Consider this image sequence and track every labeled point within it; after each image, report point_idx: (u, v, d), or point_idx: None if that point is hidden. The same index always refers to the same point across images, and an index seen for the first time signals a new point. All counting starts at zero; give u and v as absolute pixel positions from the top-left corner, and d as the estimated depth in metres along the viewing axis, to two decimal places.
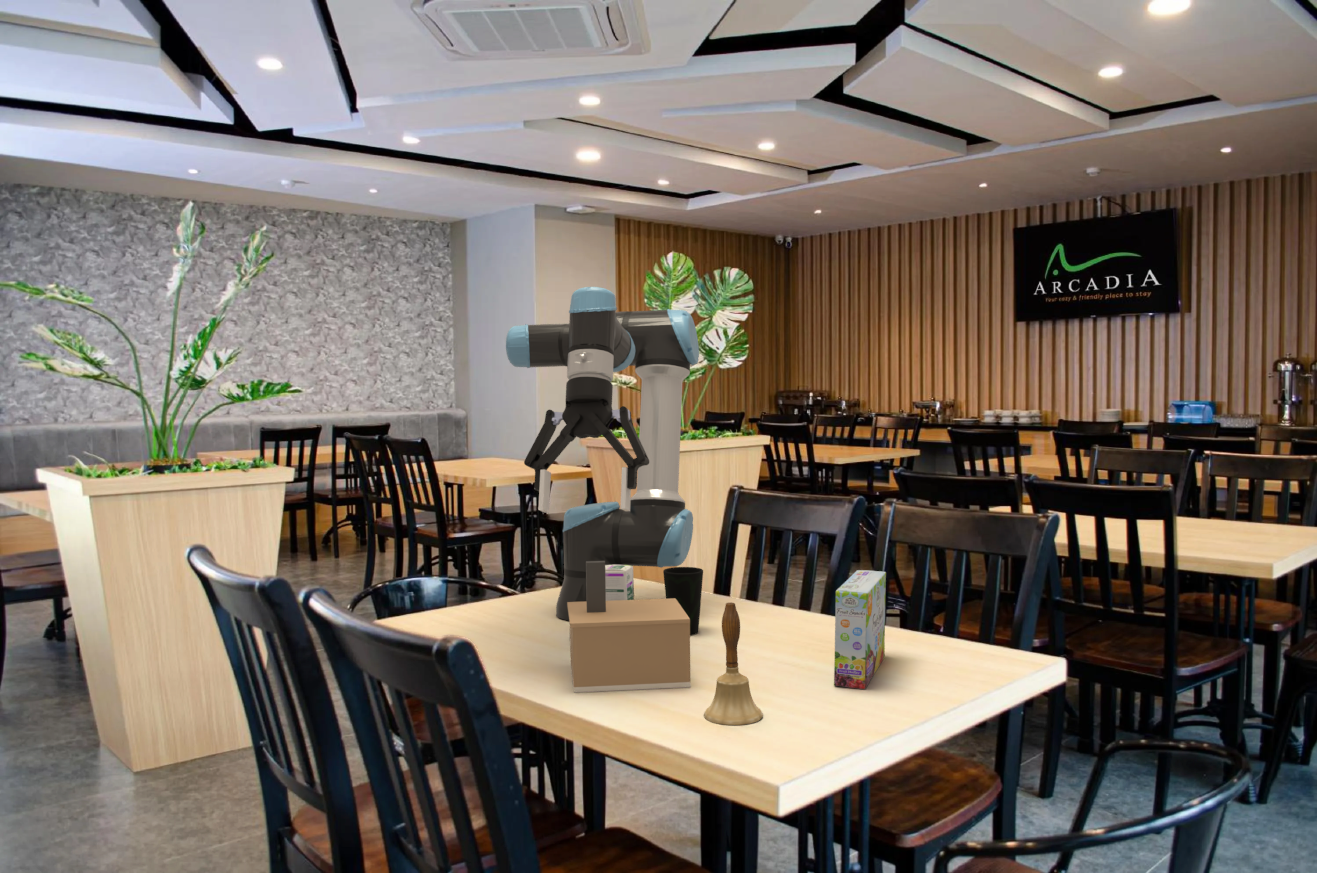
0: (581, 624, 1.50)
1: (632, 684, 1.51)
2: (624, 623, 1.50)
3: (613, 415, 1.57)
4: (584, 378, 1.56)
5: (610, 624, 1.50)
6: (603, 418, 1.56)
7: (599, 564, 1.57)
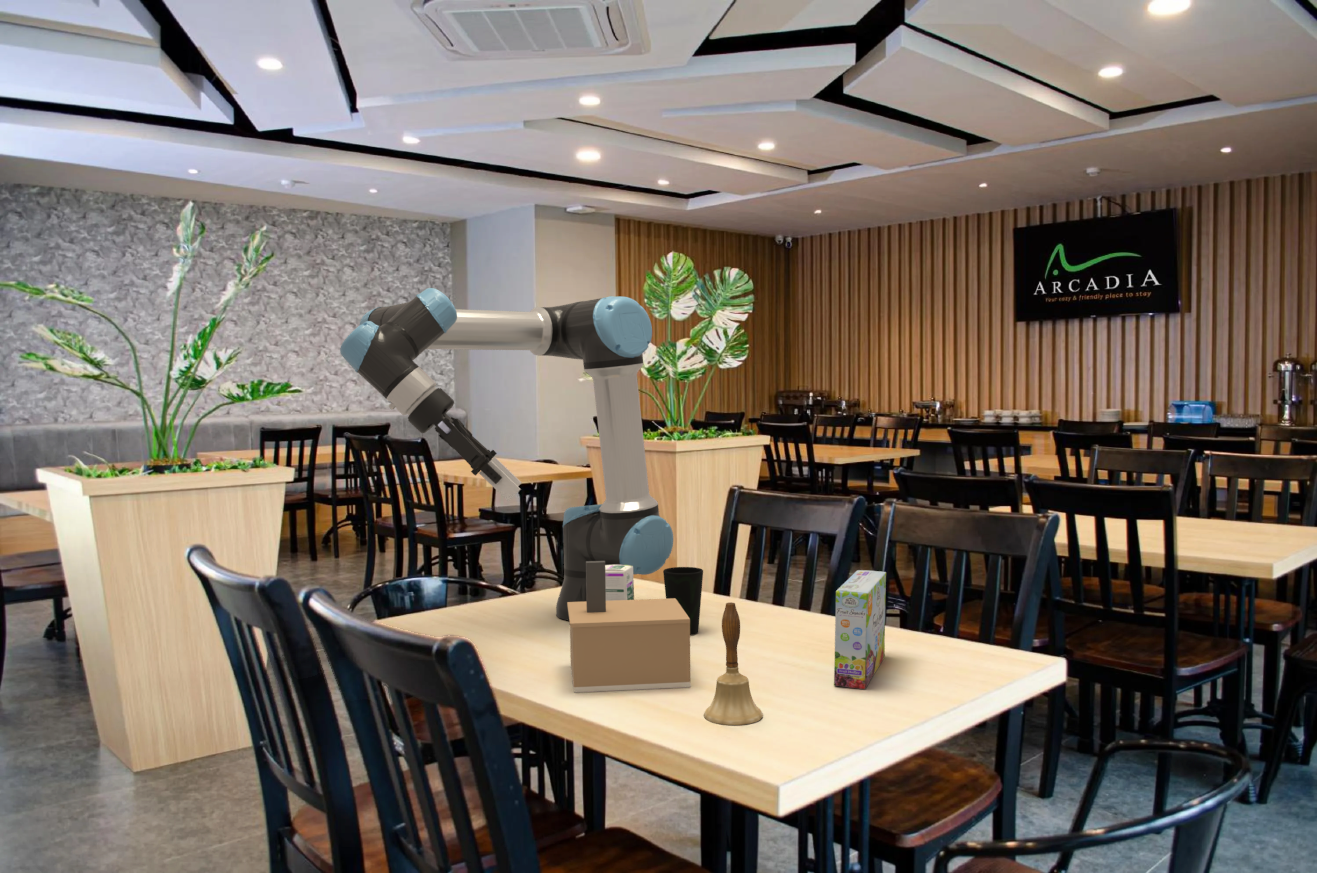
0: (581, 624, 1.50)
1: (632, 684, 1.51)
2: (624, 623, 1.50)
3: None
4: (408, 420, 1.61)
5: (610, 624, 1.50)
6: None
7: (599, 564, 1.57)
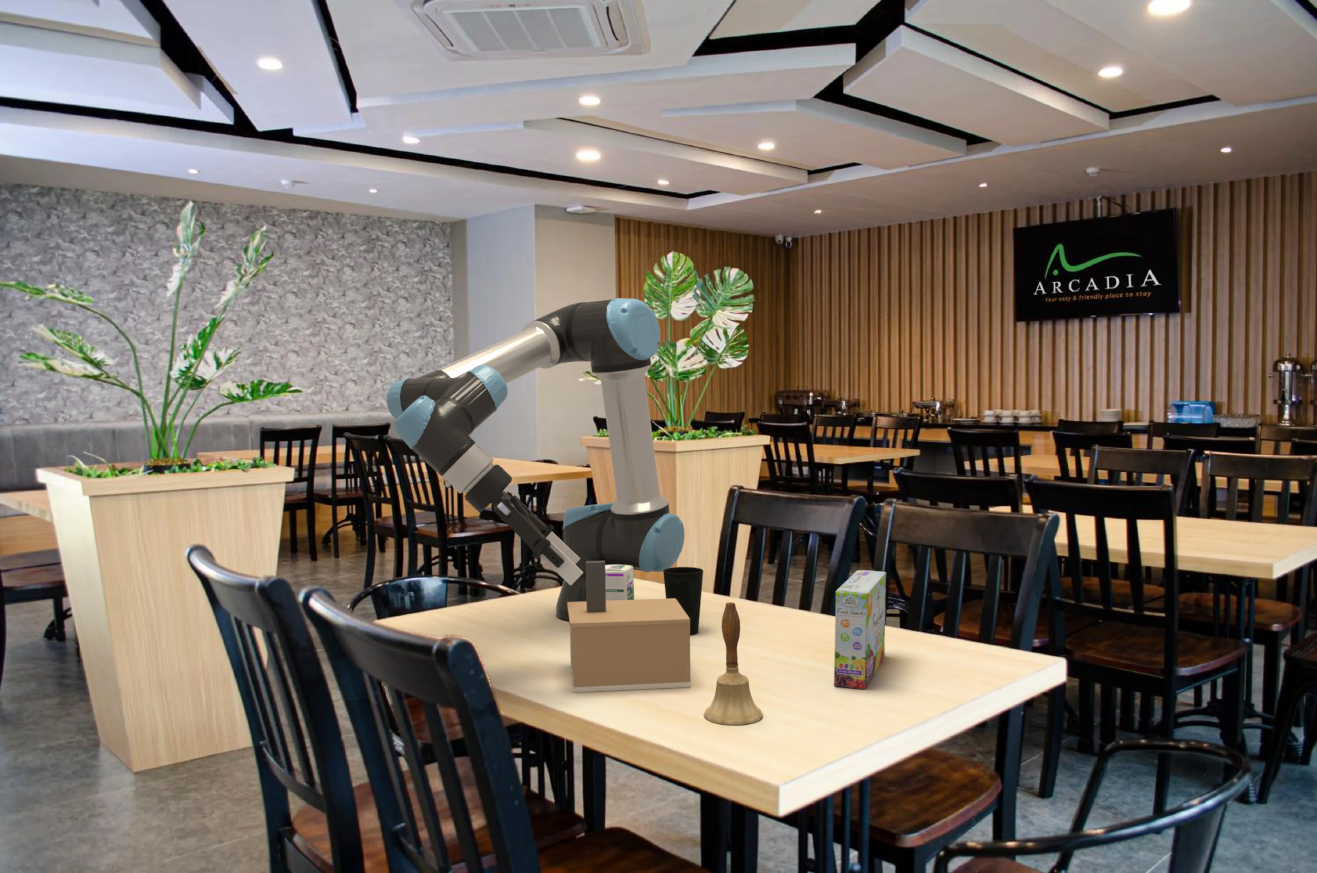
0: (581, 624, 1.50)
1: (632, 684, 1.51)
2: (624, 623, 1.50)
3: None
4: (465, 498, 1.54)
5: (610, 624, 1.50)
6: None
7: (599, 564, 1.57)
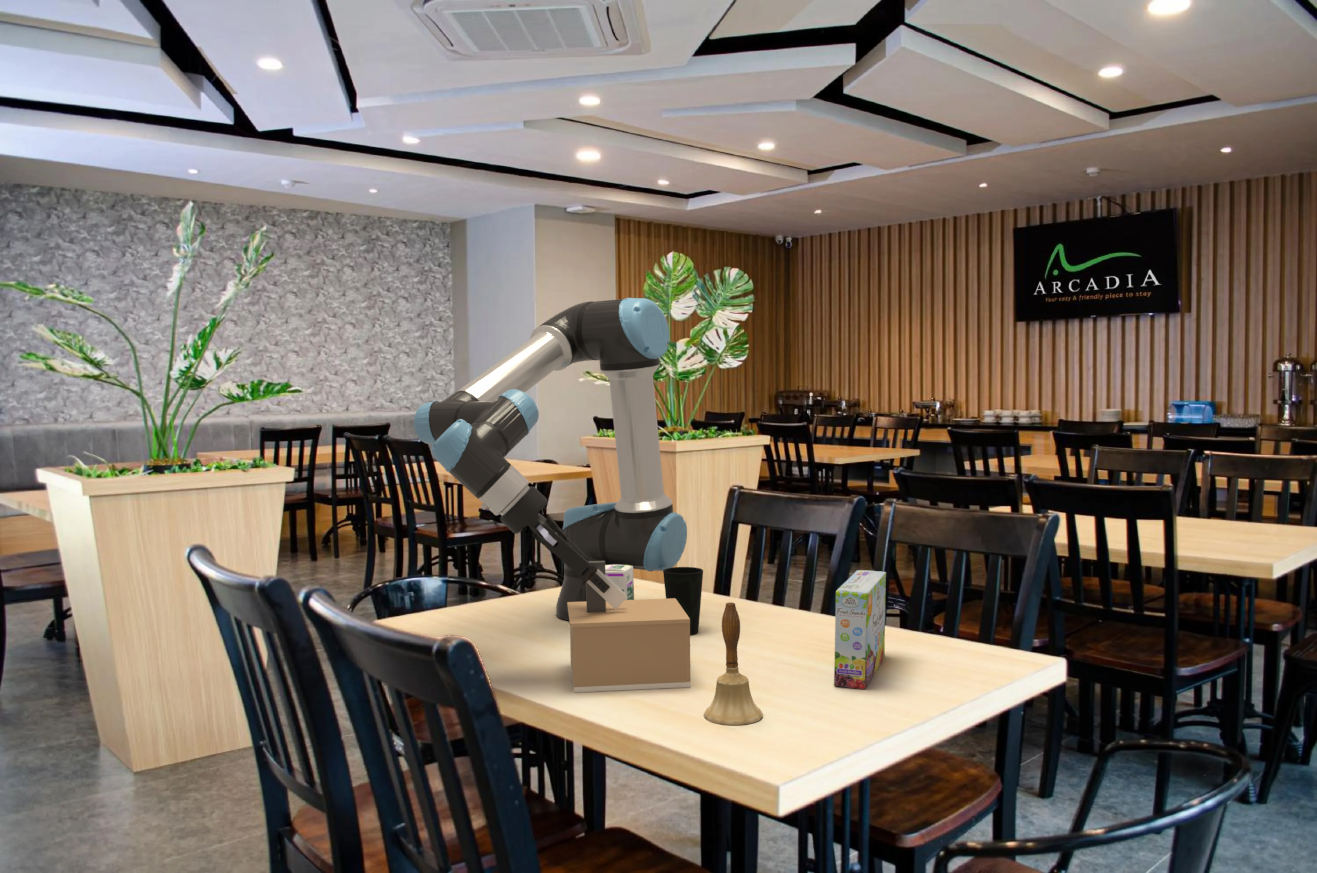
0: (581, 624, 1.50)
1: (632, 684, 1.51)
2: (624, 623, 1.50)
3: (540, 532, 1.52)
4: (501, 520, 1.55)
5: (610, 624, 1.50)
6: (540, 537, 1.54)
7: (599, 564, 1.57)
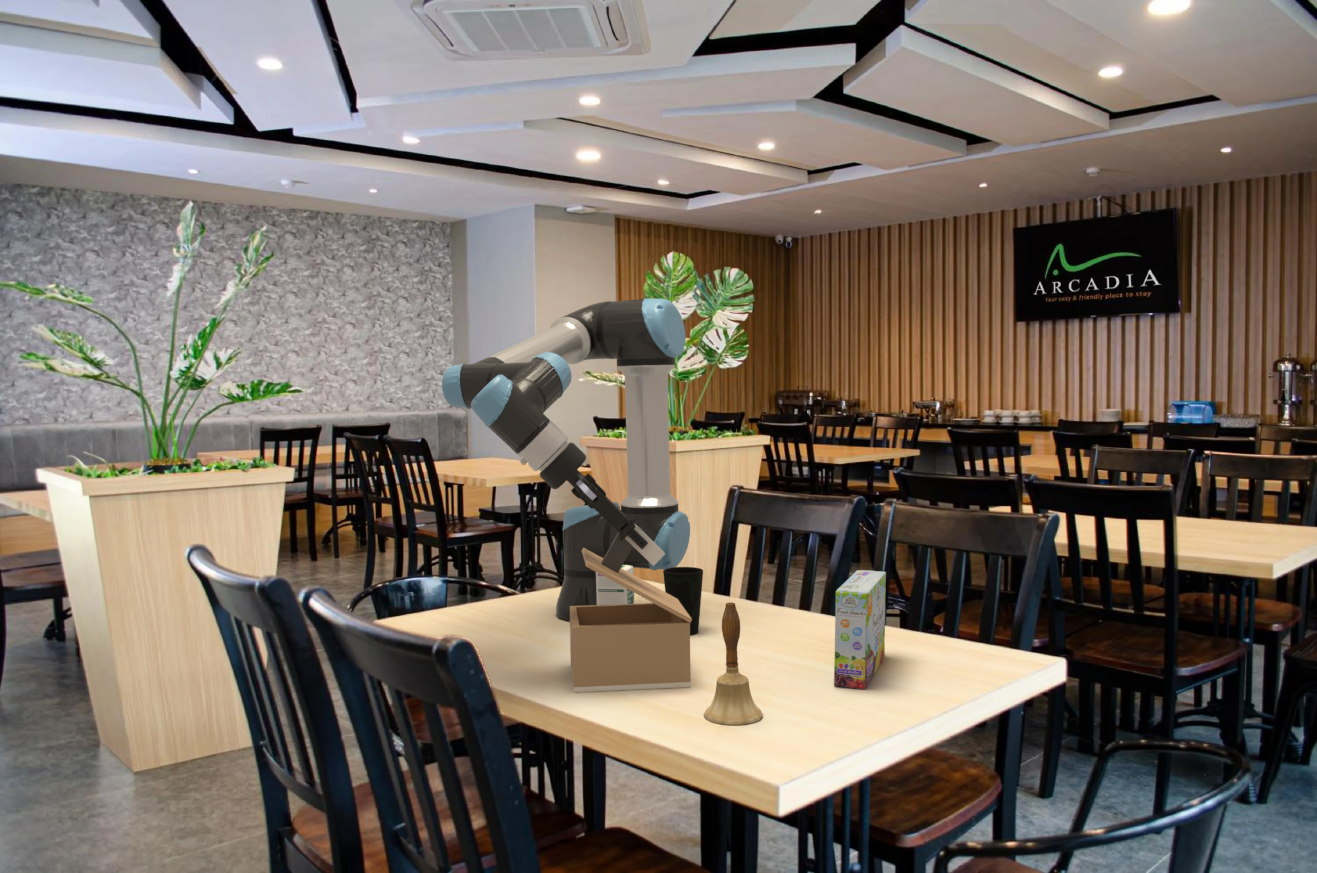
0: (597, 569, 1.50)
1: (632, 684, 1.51)
2: (634, 590, 1.50)
3: (580, 487, 1.53)
4: (540, 476, 1.56)
5: (621, 584, 1.50)
6: (579, 492, 1.54)
7: None
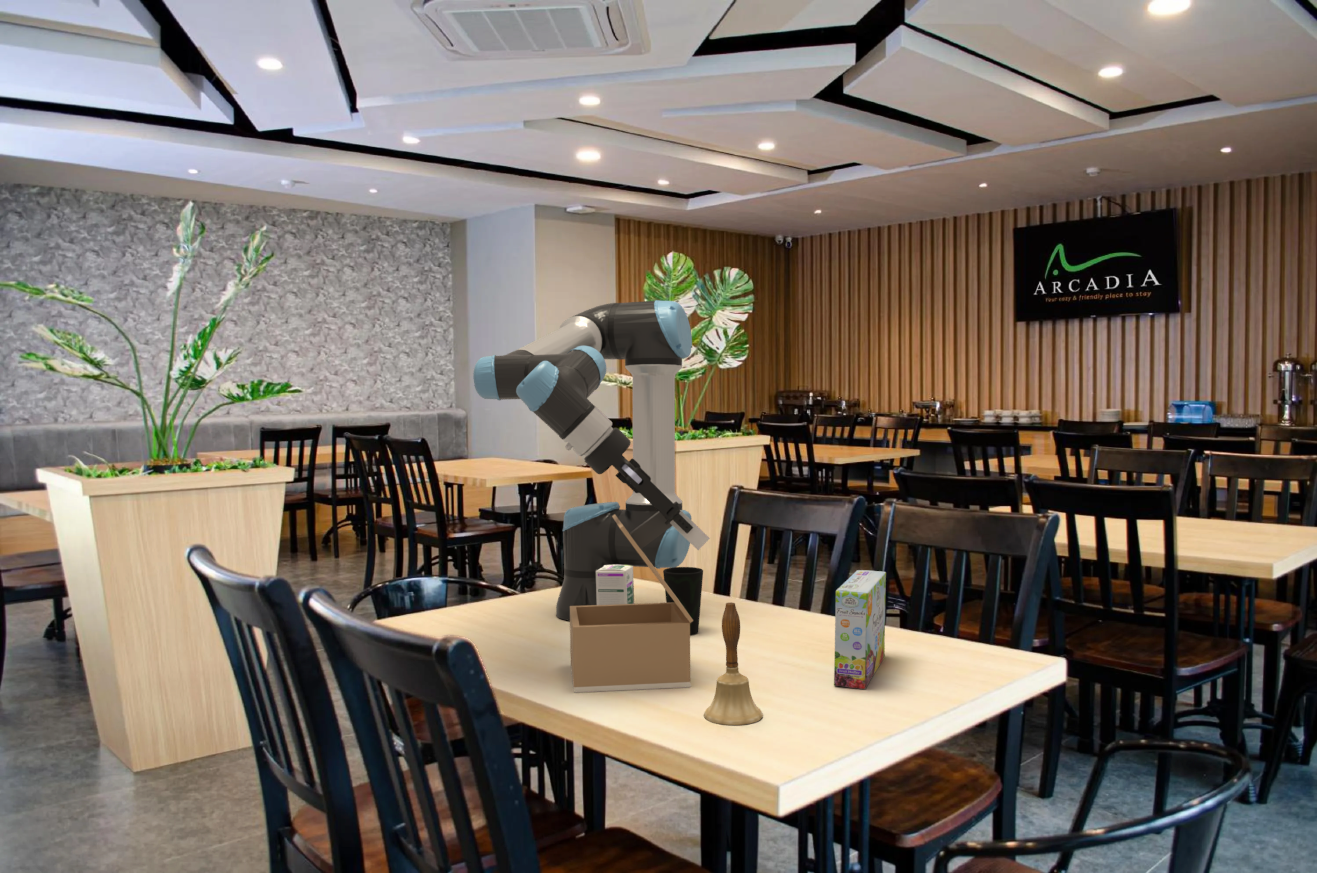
0: (628, 535, 1.50)
1: (632, 684, 1.51)
2: (653, 569, 1.51)
3: (626, 471, 1.53)
4: (585, 461, 1.57)
5: (644, 559, 1.50)
6: (624, 477, 1.55)
7: None
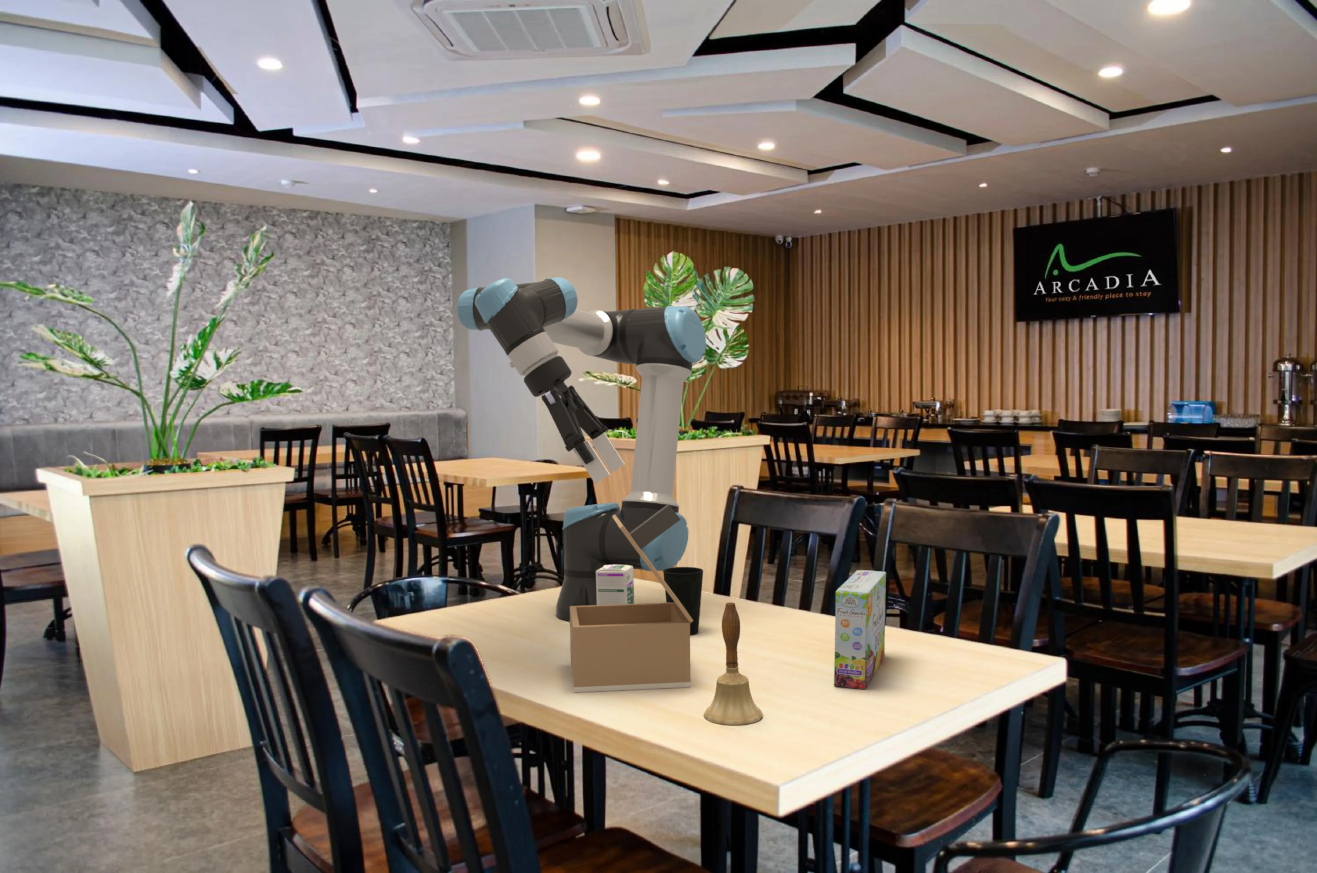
0: (628, 535, 1.50)
1: (632, 684, 1.51)
2: (653, 569, 1.51)
3: None
4: (524, 381, 1.63)
5: (644, 559, 1.50)
6: None
7: (675, 516, 1.58)
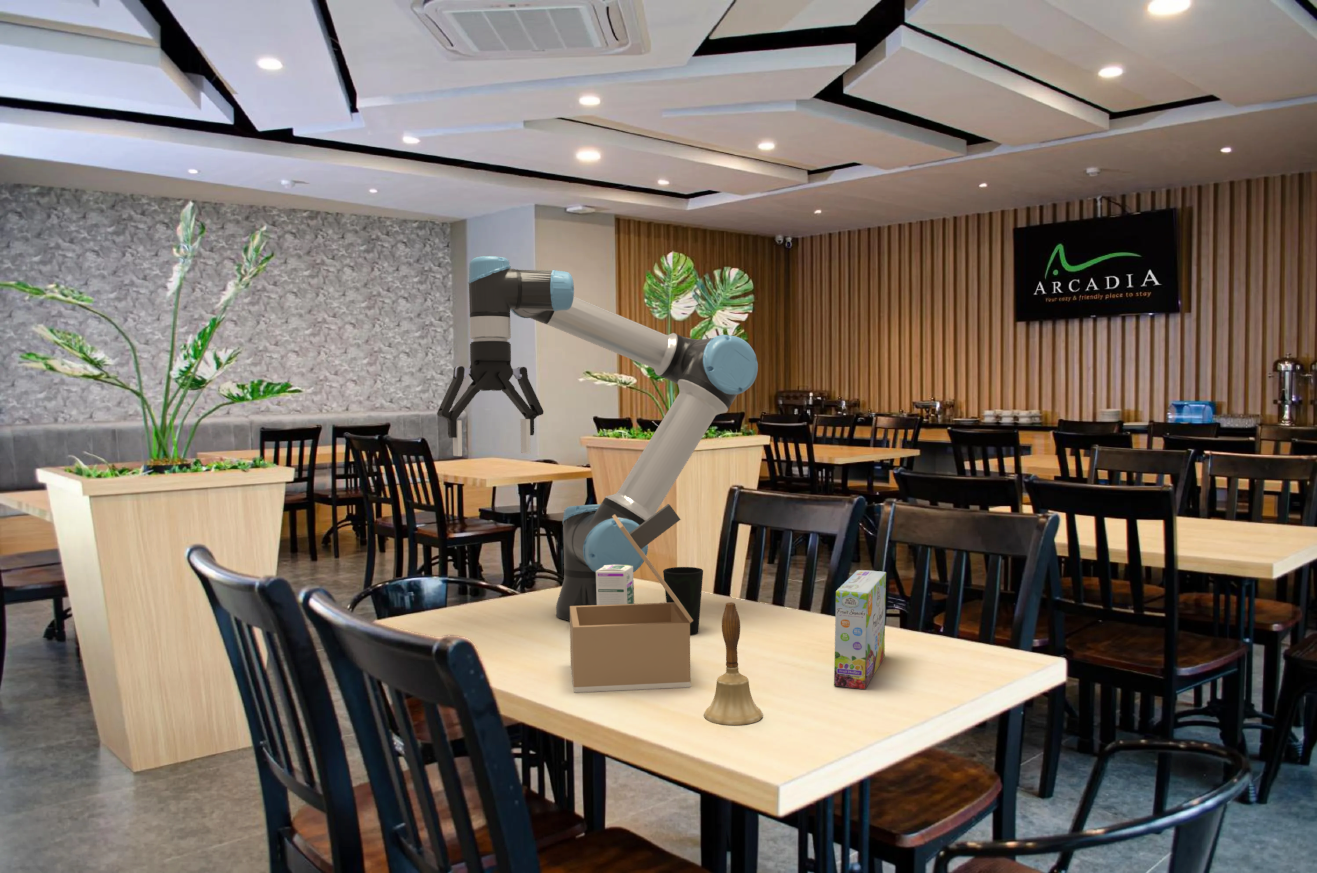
0: (628, 535, 1.50)
1: (632, 684, 1.51)
2: (653, 569, 1.51)
3: None
4: None
5: (644, 559, 1.50)
6: None
7: (675, 516, 1.58)
